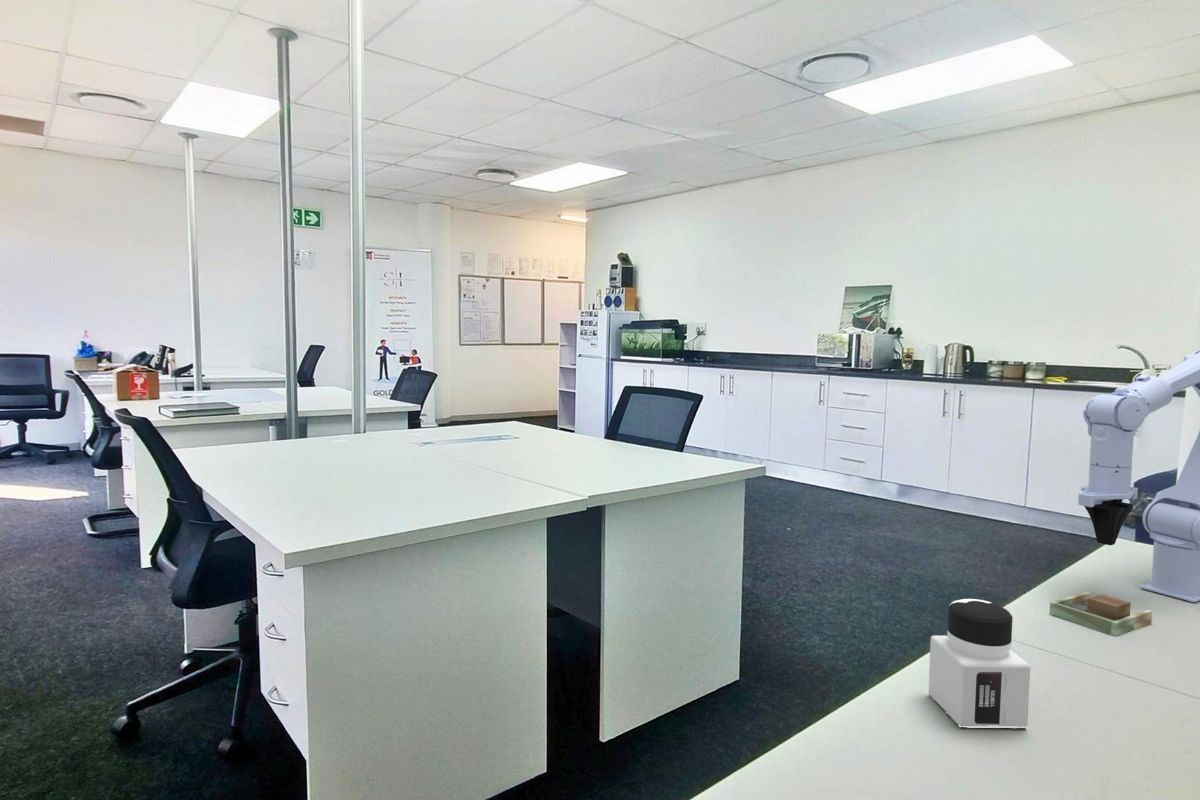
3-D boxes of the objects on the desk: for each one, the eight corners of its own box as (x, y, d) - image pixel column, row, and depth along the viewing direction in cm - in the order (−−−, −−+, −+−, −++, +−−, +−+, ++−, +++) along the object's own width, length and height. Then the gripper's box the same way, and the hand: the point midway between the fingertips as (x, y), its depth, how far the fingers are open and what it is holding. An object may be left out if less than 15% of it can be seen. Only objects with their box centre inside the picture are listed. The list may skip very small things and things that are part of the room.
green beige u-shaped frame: (1085, 603, 113) (1086, 591, 113) (1151, 623, 105) (1152, 611, 104) (1049, 614, 108) (1050, 602, 108) (1115, 636, 100) (1116, 623, 100)
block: (1100, 618, 107) (1101, 593, 107) (1129, 627, 103) (1130, 602, 103) (1086, 622, 105) (1087, 598, 105) (1115, 632, 102) (1116, 606, 101)
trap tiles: (1089, 605, 112) (1089, 600, 112) (1102, 609, 110) (1103, 604, 110) (1070, 611, 109) (1070, 606, 109) (1083, 615, 108) (1084, 610, 108)
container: (1028, 730, 75) (1034, 618, 74) (959, 729, 75) (964, 617, 74) (989, 695, 83) (994, 593, 82) (927, 694, 83) (931, 592, 82)
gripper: (1107, 458, 120) (1102, 532, 121) (1060, 464, 113) (1056, 542, 114) (1153, 464, 113) (1148, 542, 114) (1107, 471, 107) (1102, 553, 108)
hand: (1105, 543), depth 114 cm, fingers closed
